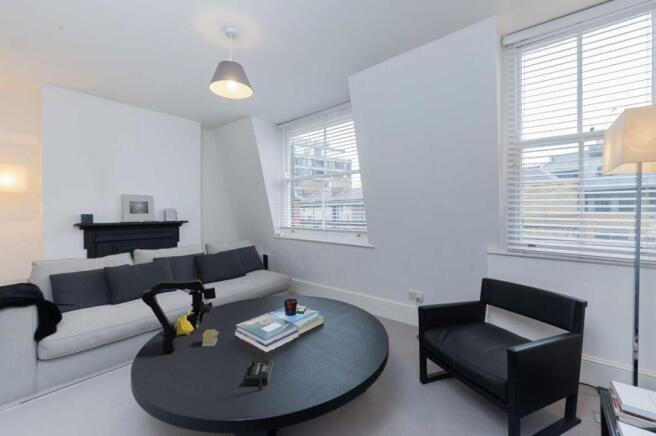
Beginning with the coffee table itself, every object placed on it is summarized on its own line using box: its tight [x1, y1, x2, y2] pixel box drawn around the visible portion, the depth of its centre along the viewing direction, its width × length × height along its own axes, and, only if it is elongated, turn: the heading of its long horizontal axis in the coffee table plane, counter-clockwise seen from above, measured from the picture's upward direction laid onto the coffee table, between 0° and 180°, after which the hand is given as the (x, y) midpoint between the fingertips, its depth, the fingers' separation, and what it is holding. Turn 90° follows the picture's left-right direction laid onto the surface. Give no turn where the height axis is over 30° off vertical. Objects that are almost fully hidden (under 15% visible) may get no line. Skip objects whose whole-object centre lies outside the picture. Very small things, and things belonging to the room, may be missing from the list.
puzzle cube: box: [296, 305, 307, 314], centre depth 206 cm, size 10×10×10 cm
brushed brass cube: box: [202, 328, 217, 344], centre depth 175 cm, size 6×6×6 cm
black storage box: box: [244, 354, 274, 392], centre depth 140 cm, size 20×14×17 cm
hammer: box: [201, 331, 219, 347], centre depth 181 cm, size 17×7×4 cm, turn 4°
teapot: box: [175, 310, 199, 337], centre depth 191 cm, size 20×15×12 cm
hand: (198, 326), depth 173 cm, fingers open, 9 cm apart
